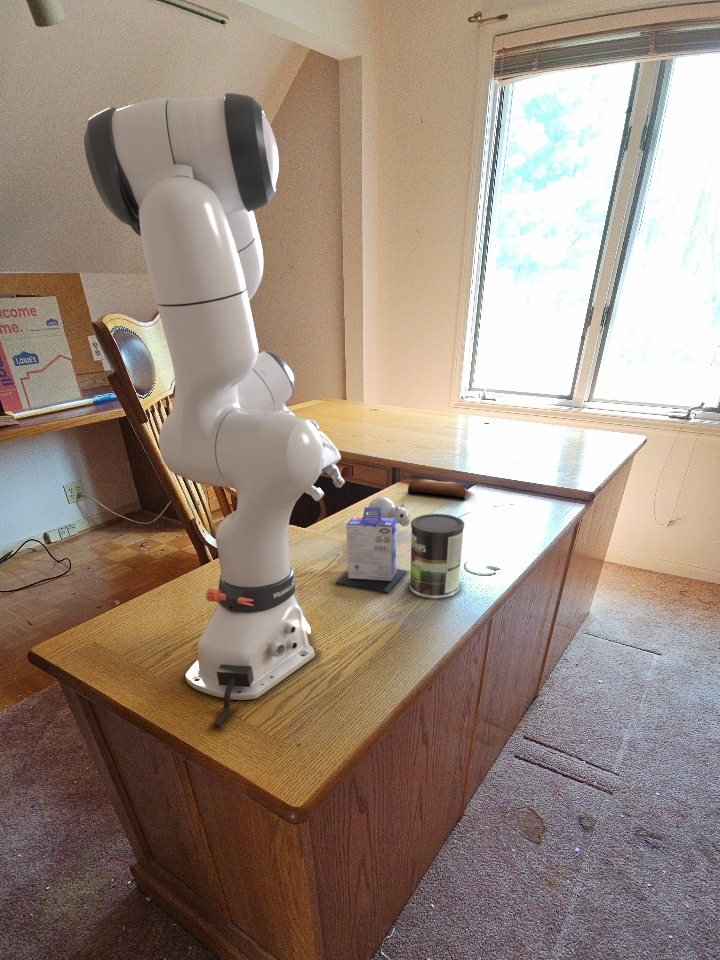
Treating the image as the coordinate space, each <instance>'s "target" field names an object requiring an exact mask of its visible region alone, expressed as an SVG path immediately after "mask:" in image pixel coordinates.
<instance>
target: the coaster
mask: <svg viewBox="0 0 720 960" xmlns="http://www.w3.org/2000/svg"><path fill="white" fill-rule="evenodd" d="M407 573H408V571H407V570H406V569H405V570H404V569H398V568H396V573H395V575H394V577H393V579H392V581H382V580H368V579H352V578H348V571H346V572H345V573H344V574H343V575H341V577H340V578H338V579H337V580H336V581H335V585H340V586H346V587H351V588H355V589H362V590H368V591H372V592H379V593H382V594H383V593H384V594H389V593H390V591H391V590H393V588H394V587H395V586H396V585H397V584H398V583H399V582H400V580H401V579H402V578H404V576H405V575H406V574H407Z"/></svg>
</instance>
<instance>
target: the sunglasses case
mask: <svg viewBox="0 0 720 960" xmlns="http://www.w3.org/2000/svg"><path fill="white" fill-rule="evenodd" d="M407 493H408V494H410V493H421V494H422V493H423V494H425V493H429V494H435V495H443V496H453V497H457V498H458V497H459V498H463V500H467V499H468V498H469V497H470V496H471V494H472V492H471V491H470V490H468V489H467V488H465V486H464V485H463V484H460V483H458V482H455V481H443V480H442V481H437V480H434V479H433V480H432V479H425V478H424V479H415V480H411V481H410V482H409V483H408V487H407Z"/></svg>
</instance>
